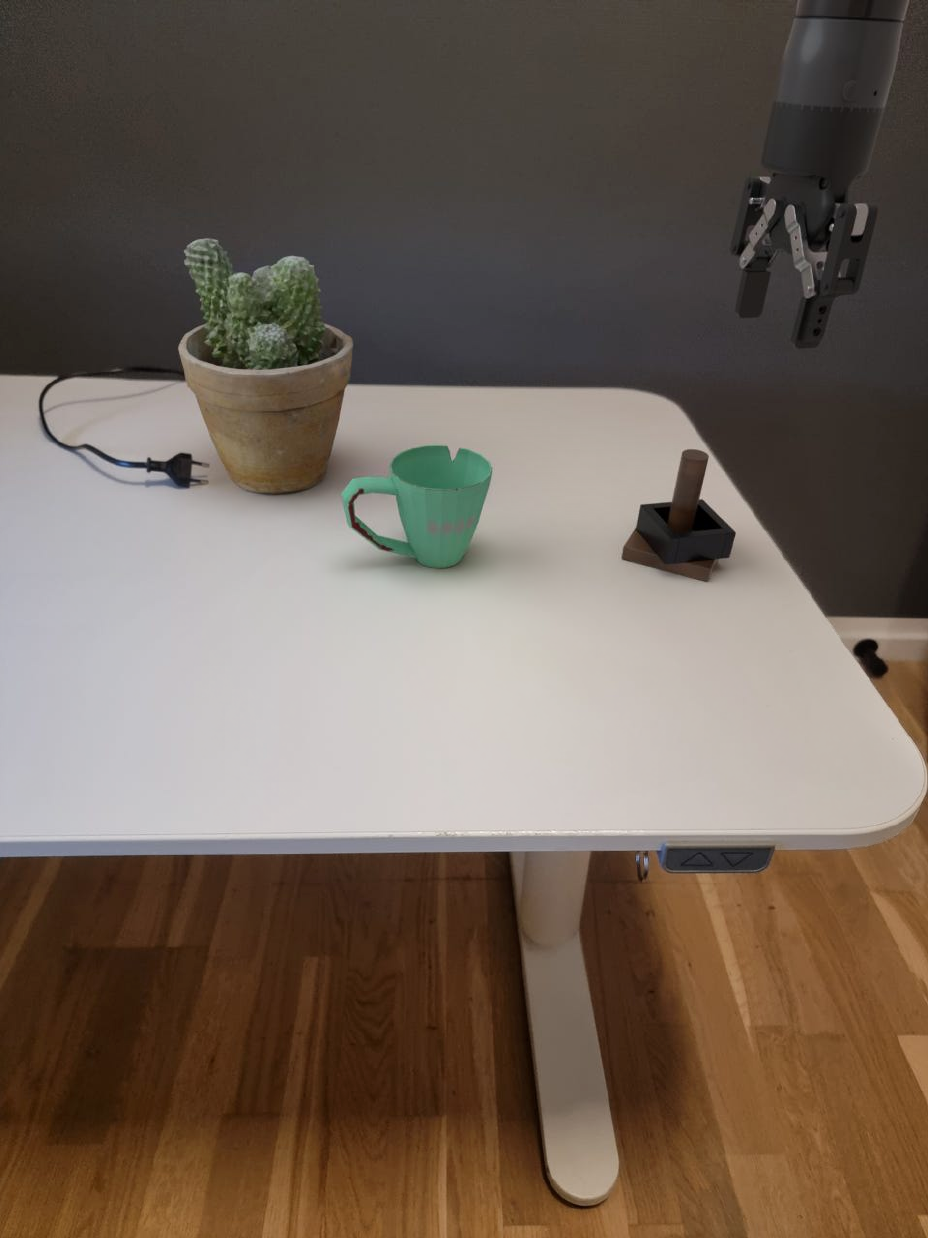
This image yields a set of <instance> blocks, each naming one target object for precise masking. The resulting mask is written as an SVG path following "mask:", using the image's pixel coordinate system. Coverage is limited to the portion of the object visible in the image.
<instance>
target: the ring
mask: <svg viewBox="0 0 928 1238" xmlns="http://www.w3.org/2000/svg"><path fill="white" fill-rule="evenodd" d="M671 503H672V501H665V502H653V503H643V504H640V505H639V509H638V515H637V520H636V527H635V528H636V530H637V531H638V533H639V534H640V535H641V536H642V537H643V539H644V540H645V541H646V542H647V543H648V545H649V546H650V547H651V548H652V549H653V551H654V552H655V553H656V554H657V555H658V557H659V558H660V559H661V560H662V561H663V563H664V564H665V565H667V564H677V563H686V562H695V561H705V560H714V559H718V560H721V559H730V558H731V557H730V556H731V553H732V550H733V546H734V541H735V539H736V538H735V537H736V535H737V532H736V531H735V530H734V528H732V527H731V526H730V525H729V524H728V522H726V521H725V520H724V519H723V518H722V517H721V516H720V515H719V514H718V513H717V512H716V511H715V510H714V509H713V508H712V507H711V506H710V505H709V504H708V503H707V502H706V501H705V500H704V499H702V498H699V502H698V506H697V511H696V515H695V519H694V524H693V529H694V530H695V531H693V532H682V533H675V532H674V531H673V530H672V529H671V528H670V527H669V526H668V525H667V522H668V517H669V513H670V508H671Z"/></svg>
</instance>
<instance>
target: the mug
mask: <svg viewBox="0 0 928 1238" xmlns="http://www.w3.org/2000/svg"><path fill="white" fill-rule="evenodd" d="M389 476H390V477H381V476H380V477H379V476H363V477H361V476H360V477H353V478H352V479H351V480H350V481H349V483H348V485H346V487H344V489H343V490H342V492H341V493H340V495H341V500H342V505H343V509H344V514H345V518H346V519H345V520H346V525H347V526H348V528H350V529H351V530H352V531H354V532H355V533H357V534H358V535H359V536H360V537H362V538H363V539H365V540H366V541H367V542H369V544H371V545H373V546H374V547H375V548H376V549H378V550H379V551H384V552H387V553H392V554H397V555H400V556H406V557H408V558H412V559H413V558H414V559H415V560H416V561H417V562H418V563H419V564H421V565H422V566H425V567H429V568H433V569H448V568H451V567H454V566H455V565H457V564H459V563H460V562H461V561H462V559H463V557H464V555H465V554H466V551H467V550H468V548H469V546H470V545H471V542H472V540H473V537H474V535H475V532H476V529H477V527H478V525H479V522H480V519H481V516H482V511H483V508H484V504H485V501H486V498H487V495H488V493H489V489H490V485H491V481H492V476H493V466H492V464H491V461H489V460H488V459H487V458H486V457H484V456H483V455H482V454H481V453H479V452H477V451H474V450H472V449H469V448H464V447H459V448H458V450H457V452H456V454H455V457H454V459H452V457H451V451H450V449H449V446H448V445H447V444H428V445H427V444H426V445H420V446H416V447H415V446H414V447H411V448H409V449H405V450H403V451H400V452H399V453H398V454H396V455H395V456H394V457H393V458H392V459H391V462H390V464H389ZM369 494H380V495H381V494H382V495H390V496H395V498H396V504H397V510H398V515H399V519H400V522H401V526H402V529H403V531H404V534H405V537H406V539H407V541H404V540H400V539H396V538H391V537H387V536H384V535H379V534H377V533H376V531H374V530H372V529H371V528H370V527H369V526H368V525H367V524H366V523H365V522H364V521H362V520H361V519H360V518H359V517H357V516H356V511H355V501H356V499H358V497H359V496H362V495H369Z"/></svg>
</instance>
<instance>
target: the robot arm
mask: <svg viewBox="0 0 928 1238" xmlns="http://www.w3.org/2000/svg"><path fill="white" fill-rule="evenodd" d="M909 4H910V0H797V3H796V9H795V13H794V17H795V18H794V19H793V21H792V25H791V28H790V29H791V30H790V33H789V36H788V39H787V42H786V44H785V48H784V51H783V54H782V57H781V62H780V67H779V71H778V77H777V82H776V86H775V91H774V96H773V101H772V104H771V105H772V106H771V110H770V115H769V120H768V124H767V130H766V134H765V139H764V144H763V147H762V148H763V149H762V154H761V159H760V165H761V167H762V168H763V170H765V171H767V172H770V173H772V175H771V176H748V177H747V178H746V180H745V182H744V186H743V189H742V194H741V199H740V202H739V207H738V212H737V216H736V221H735V225H734V229H733V233H732V237H731V243H730V247H729V252H730V255H731V256H732V257H733V256H734V257H736V256H737V257H738V259H739V260H738V263H739V268H740V269H742V272H741V278H740V282H739V287H738V288H739V289H738V291H737V292H738V293H737V296H736V302H735V303H736V304H735V307H734V314H735V315H736V316H737V317H739V318H741V319H752V318H753V319H755V318H759V317H760V316H761V315H762V313H763V310H764V305H765V301H766V296H767V293H768V288H769V284H770V279H771V275H772V271H771V270H768V269H769V268H771V267H772V266H773V264H774V263H775V262H776V261H777V259H778V258H779V256H780V255H781V253H783V252H785V253H786V254H789V255H791V256H792V261H793V266H794V268H795V269H796V270H798V271H799V272H800V277H801V284H802V292H803V296H801V297H800V301H799V304H798V308H797V312H796V316H795V321H794V323H793V328H792V331H791V336H790V341H789V343H790V345H791V346H793V347H794V348H797V349H815V348H817V347H818V346H819V345H820V344H821V341H822V340H823V338H824V336H825V333H826V328H827V325H828V322H829V319H830V315H831V310H832V307H833V303H834V301H835V300H836V298H838V297H843V296H847V295H848V296H849V295H855V294H857V293H858V291H859V289H860V286H861V282H862V278H863V274H864V271H865V266H866V263H867V258H868V253H869V250H870V246H871V242H872V238H873V233H874V229H875V226H876V221H877V217H878V213H879V209H878V208H879V207H878V206H877V204H876V203H850V190H851V185H852V184H853V182H854V181H855V180H857V179H859V178H862V177H863V176H864V175H866V173H868V171H869V167H870V163H871V159H872V156H873V152H874V149H875V145H876V142H877V138H878V134H879V130H880V126H881V123H882V121H883V115H884V112H885V107H886V105H887V101H888V97H889V93H890V89H891V87H892V83H893V78H894V74H895V72H896V67H897V63H898V57H899V50H900V43H901V37H902V32H903V27H904V23H903V21H905V18H906V15H907V11H908V7H909ZM751 226H754V227H753V228H752V229H751V231H750V233H748V235H747V232H748V229H749V227H751ZM746 236H748V239H746V238H747V237H746ZM824 247H825V251H821V250H822V249H823V248H824ZM844 260H848V263H847V268H846V273H845V276H842V275H841V274H842V273H841V268H842V267H841V266H842V263H843V262H844ZM818 270H822V275H821V279H819V274H818Z"/></svg>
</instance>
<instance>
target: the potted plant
mask: <svg viewBox="0 0 928 1238" xmlns="http://www.w3.org/2000/svg"><path fill="white" fill-rule="evenodd" d="M183 252H184V254H185V256H186V258H185V259H184V261H183V264H184V266H186V267H187V268H189V270H188V271H189V272H188V274H189V276H190V278H191V279H192V280H193V282H194V283H195V288H196V289H195V293H197V294H198V295H199V297H200V298H199V301H200V302H201V307H200V311H202V312H203V313H204V316H203V317H202V320H204V321H205V324H201V325H199V326H197V327H195V328H193V329H192V330H190V331H188V332H187V333H185V334H184V335H183V337H182V338H181V340H180V342H179V343H178V347H177V349H178V354H179V358H180V361H181V365H182V368H183V372H184V378H185V383H186V386H187V388H189V389H190V390H191V391H192V393H193V394H194V396H195V398H196V401H197V404H198V407H199V411H200V412H201V415H202V419H203V421H204V424H205V426H206V429H207V431H208V434H209V437H210V440H211V441H212V444H213V446H214V449H215V450H216V453H217V456H218V457H219V459H220V461H221V463H222V465H223V466H224V468H225V471H226V473H227V475H228V477H229V478H230V480H231V481H232V482H234V484H235V485H236V486H238V487H239V488H241V489H242V490H244V491H247V492H250V493H256V494H257V493H259V494H273V495H279V494H287V493H297V492H301V491H304V490H308V489H310V488H313V487H314V486H316V485H317V484H319V483H321V482H322V481H323V479H324V478H325V475H326V474H327V470H328V464H329V461H330V458H331V456H332V455H331V454H332V451H333V447H334V442H335V438H336V434H337V431H338V427H339V422H340V417H341V411H342V406H343V403H344V397H345V391H346V388H347V386H348V383H349V382H350V379H351V369H352V362H353V348H354V342H353V339H352V337H351V336H350V335H348V334H346V333H345V332H343V331H342V330H341V329H339V328H337V327H335V326H332V325H330V324H327V323H324V322H323V319H322V316H320V311H321V310H322V308H323V306H322V305H320V304H321V303H320V302H321V298H319V297H318V295H319V294H320V293H321V292H322V291H321V289H320V288H319V285H318V283H319V281H320V278H318V277H317V276H316V272H315V265H314V264H310V261H309V260H308V259H307V258H305V256H304V257H303V256H295V255H289V256H284V257H282V258H280V259H279V260H278V261H277V262H276V263H275V264H273V265H265V266H262V267H259V268H257V269H256V270H254V271H253V274H252V276H251V275H250V274H248V273H246V272H242V271H241V272H235V271H234V270H233V264H232V263H231V261H230V258H229V257H228V256H227V254H228V251H227V250H224V249H223V247H222V246H221V245H220V244H219V240H218V239H214V238H208V237H207V238H200V239H196V240H194V241H192V242H191V243H189V244H188V245H187V246H186V248H185V249H184V250H183Z"/></svg>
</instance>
